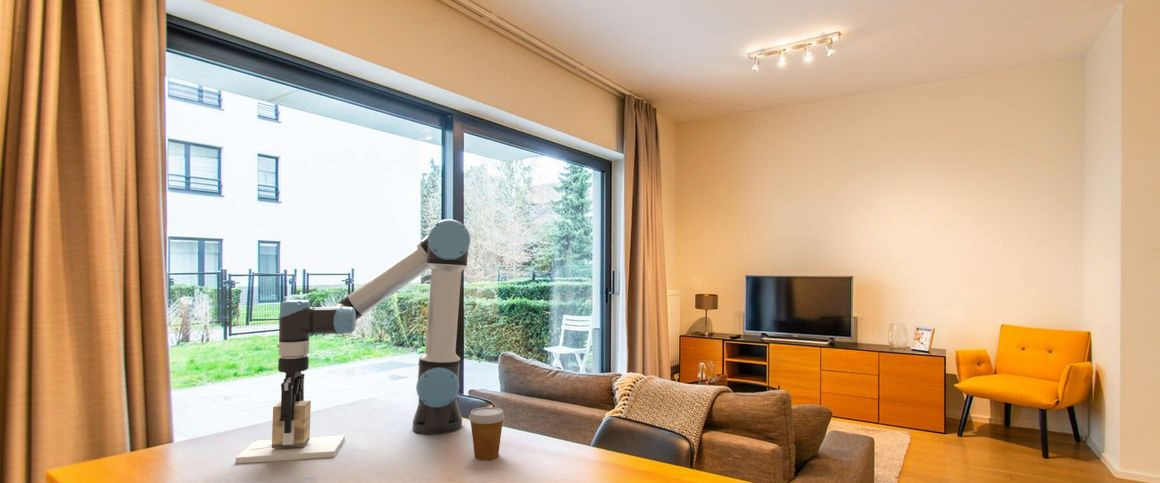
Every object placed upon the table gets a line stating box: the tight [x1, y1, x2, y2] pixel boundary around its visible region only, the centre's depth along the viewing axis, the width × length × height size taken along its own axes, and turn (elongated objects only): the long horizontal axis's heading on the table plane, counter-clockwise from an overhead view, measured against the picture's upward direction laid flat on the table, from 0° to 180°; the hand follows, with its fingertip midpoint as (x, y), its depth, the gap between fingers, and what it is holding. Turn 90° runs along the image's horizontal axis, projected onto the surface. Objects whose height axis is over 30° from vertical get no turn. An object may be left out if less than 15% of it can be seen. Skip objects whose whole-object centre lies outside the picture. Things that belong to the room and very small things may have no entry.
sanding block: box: [271, 400, 312, 448], centre depth 157 cm, size 8×6×11 cm
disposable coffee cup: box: [468, 406, 505, 461], centre depth 153 cm, size 10×10×12 cm
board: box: [235, 435, 346, 464], centre depth 157 cm, size 24×14×2 cm, turn 102°
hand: (291, 440), depth 157 cm, fingers closed on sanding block, 6 cm apart
